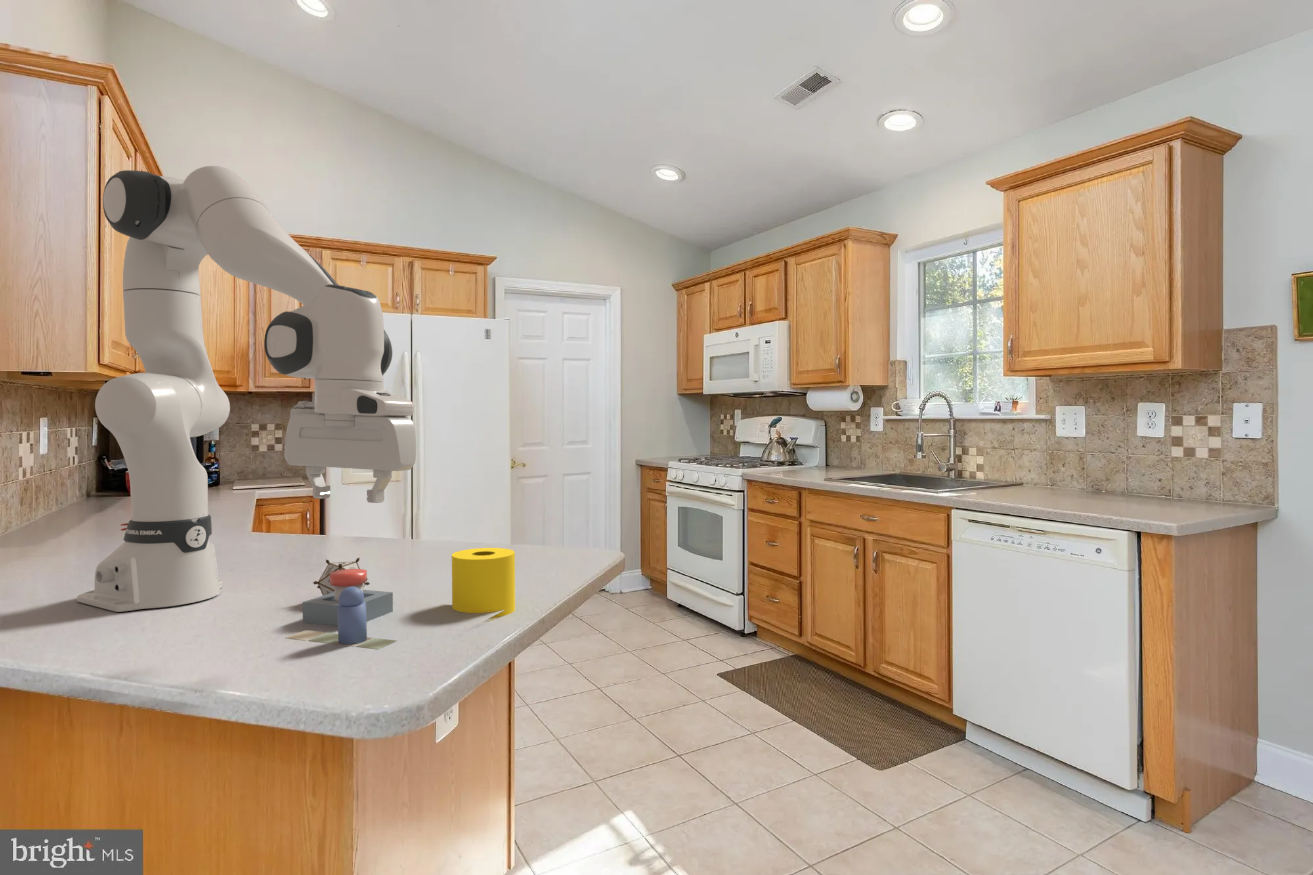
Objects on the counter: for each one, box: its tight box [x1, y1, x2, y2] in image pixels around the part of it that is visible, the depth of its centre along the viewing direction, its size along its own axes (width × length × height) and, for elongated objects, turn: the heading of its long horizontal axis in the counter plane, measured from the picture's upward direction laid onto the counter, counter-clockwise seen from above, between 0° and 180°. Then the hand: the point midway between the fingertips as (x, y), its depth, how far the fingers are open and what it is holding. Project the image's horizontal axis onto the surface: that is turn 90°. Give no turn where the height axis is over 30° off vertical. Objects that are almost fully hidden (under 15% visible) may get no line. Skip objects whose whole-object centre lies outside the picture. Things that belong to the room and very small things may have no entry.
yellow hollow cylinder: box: [451, 547, 516, 619], centre depth 115 cm, size 10×10×9 cm
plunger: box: [330, 568, 368, 602], centre depth 108 cm, size 5×5×7 cm
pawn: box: [337, 587, 368, 646], centre depth 96 cm, size 4×4×7 cm
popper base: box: [302, 589, 394, 627], centre depth 108 cm, size 9×9×4 cm
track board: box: [285, 629, 397, 650], centre depth 97 cm, size 16×8×1 cm, turn 72°
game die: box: [312, 557, 371, 596], centre depth 118 cm, size 9×8×10 cm
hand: (348, 500), depth 99 cm, fingers open, 8 cm apart
